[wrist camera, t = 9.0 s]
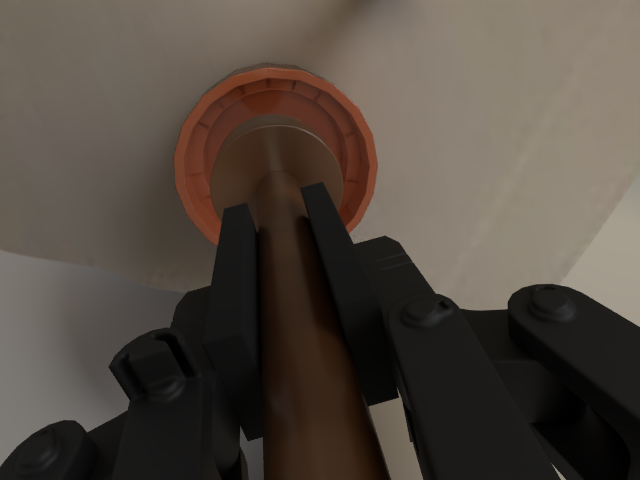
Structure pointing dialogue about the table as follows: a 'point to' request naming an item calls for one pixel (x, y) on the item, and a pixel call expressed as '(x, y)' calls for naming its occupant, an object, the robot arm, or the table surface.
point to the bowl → (262, 99)
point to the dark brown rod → (297, 306)
